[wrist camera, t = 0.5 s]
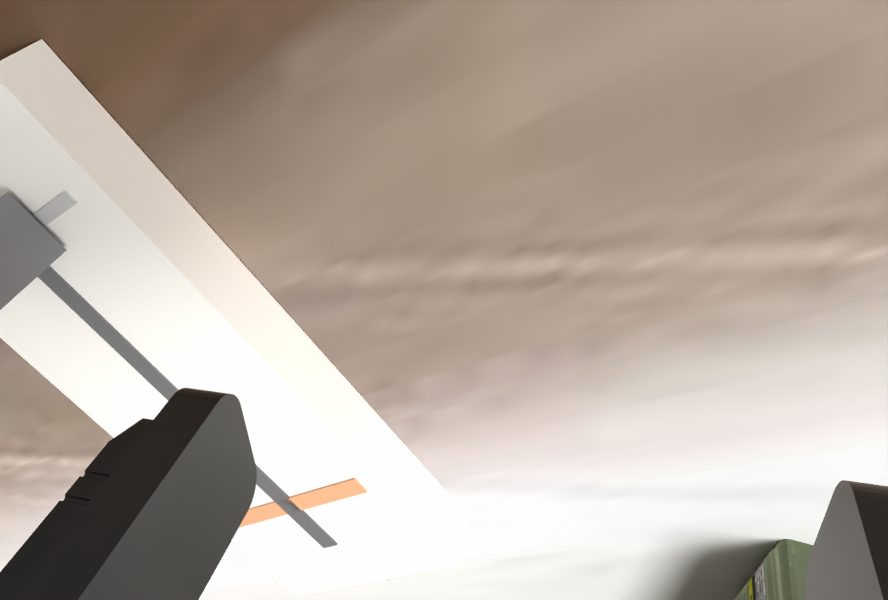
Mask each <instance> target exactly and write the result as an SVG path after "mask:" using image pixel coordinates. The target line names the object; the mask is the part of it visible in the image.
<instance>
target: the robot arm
mask: <svg viewBox="0 0 888 600" xmlns="http://www.w3.org/2000/svg"><path fill="white" fill-rule="evenodd" d="M256 481H257V471H256V464H255V460H254V456H253V452H252V448H251V444H250V440H249V436H248V432H247V428H246V424H245V420H244V416H243V412H242V408H241V404H240V401H239V399H238V398H237V397H236V396H235V395H234V394H229V393H221V392H214V391H207V390H200V389H192V388H182V389H180V390H178V391H177V392H176V393H175V394H174V395H173V396H172V397H171V398H170V399H169V401H168V402H167V403H166V405H165V406H164V407H163V408H162V410H161V411H160V412H159V413H158V415H157V416H156V417H155V418H154V420H152V419H145V418H142V419H141V420H139V421H138V422H137V423H135V424H134V425H132V426H131V427H129V428H128V429H126V430H125V431H124V432H122V433H121V434H119V435H118V436H116V437H115V438H113V439H112V440H111V441H109V442H108V443H107V445H106V446H105V447H104V448H103V449H102V451H101V452H100V453H99V454H98V455H97V457H96V458H95V459H94V460H93V461H92V463H91V464H90V465H89V466H88V467H87V469H86V470H85V475H84V476H83V477H81V476H80V477H79V478H78V479H77V481H76V482H75V483H74V484H73V485H72V487H71V488H70V489H69V490H68V491H67V493H66V494H65V499H64V501H59V502H58V504H57V505H56V506H55V507H54V508H53V510H52V511H51V512H50V513H49V514H48V516H47V517H46V518H45V519H44V520H43V522H42V523H41V524H40V525H39V526H38V528H37V529H36V530H35V531H34V532H33V534H32V535H31V536H30V537H29V538H28V540H27V541H26V542H25V543H24V544H23V546H22V547H21V548H20V549H19V550H18V552H17V553H16V554H15V555H14V556H13V558H12V559H11V560H10V561H9V562H8V564H7V565H6V566H5V567H4V568H3V570H2V571H1V572H0V600H198V599H199V598H200V596H201V594H202V592H203V590H204V589H205V587H206V585H207V583H208V581H209V580H210V578H211V576H212V574H213V573H214V571H215V569H216V567H217V565H218V564H219V562H220V560H221V558H222V557H223V555H224V553H225V551H226V549H227V548H228V546H229V544H230V542H231V540H232V539H233V537H234V535H235V533H236V532H237V530H238V528H239V526H240V524H241V523H242V521H243V519H244V517H245V516H246V514H247V512H248V510H249V508H250V506H251V503H252V500H253V497H254V493H255V488H256ZM805 593H806V600H888V486H880V485H873V484H866V483H859V482H851V481H844V480H843V481H841V482H839V483H838V485H837V486H836V488H835V491H834V493H833V496H832V498H831V501H830V504H829V506H828V509H827V512H826V514H825V517H824V520H823V522H822V525H821V527H820V530H819V533H818V535H817V538H816V541H815V543H814V546H813V549H812V551H811V554H810V557H809V560H808V565H807V571H806V583H805Z"/></svg>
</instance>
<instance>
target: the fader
mask: <svg viewBox="0 0 888 600" xmlns="http://www.w3.org/2000/svg"><path fill="white" fill-rule="evenodd" d="M65 251H67V250H66V249H65V248H64V247H63V246H62V245H61V244H60V243H59V242H58V241H57V240H56V239H55V238H54V237H53V236H52V235H51V234H50V233H49V232H48V231H47V230H46V229H45V228H44V227H43V226H42V225H41V224H40V223H39V222H38V221H37V220H36V219H35V218H34V217H33V216H32V215H31V214H30V213H28V212H27V211H26V210H25V209H24V208H23V207H22V206H21V205H20V204H19V203H18V202H17V201H16V200H15V199H14V198H13V197H12V196H11V195H10V194H9V193H6V194H5V195H3V196H2V197H1V198H0V310H1V309H2V308H3V307H4V306H5V305H7V304H8V303H9V302H10V301H11V300H12V299H13V298H14V297H15V296H17V295H18V294H19V293H20V292H21V291H22V290H23V289H24V288H25V287H27V286H28V285H29V284H30V283H31V282H32V281H33V280H34V279H35V278H37V277H38V276H39V275H40V274H41V273H42V272H43V271H44V270H45V269H47V268H48V267H49V266H50V265H51V264H52V263H53V262H54V261H55V260H57V259H58V258H59V257H60V256H61V255H62V254H63V253H64V252H65Z"/></svg>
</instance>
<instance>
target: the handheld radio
mask: <svg viewBox="0 0 888 600" xmlns="http://www.w3.org/2000/svg"><path fill="white" fill-rule="evenodd" d="M812 549H813V545H809V544H805V543H802V542H798V541H794V540H789V539H785V540H782V541H780V542H778V543H777V544H776V546H775V547H774V548H773V550H771V551H770V552H769V554H768V555H767V556H766V557H765V559H764V560H763V561H762V563H761V564H760V565H759V567H758V568H757V569H756V571H755V572H754V573H753V575H752V576H751V577H750V579H749V580H748V581H747V583H746V584H745V585H744V587H743V588H742V589H741V591H740V592H739V593H738V595H737V596H736V597H735V599H734V600H806V593H805V583H806V571H807V565H808V560H809V557H810V554H811V551H812Z"/></svg>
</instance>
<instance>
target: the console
mask: <svg viewBox="0 0 888 600" xmlns="http://www.w3.org/2000/svg"><path fill="white" fill-rule="evenodd" d="M6 193H9V194H10V195H11V196H12V197H13V198H14V199H15V200H16V201H17V202H18V203H19V204H20V205H21V206H22V207H23V208H24V209H25V210H26V211H27V212H28V213H30V214H31V215H32V216H33V217H34V218H35V219H36V220H37V221H38V222H39V223H40V224H41V225H42V226H43V227H44V228H45V229H46V230H47V231H48V232H49V233H50V234H51V235H52V236H53V237H54V238H55V239H56V240H57V241H58V242H59V243H60V244H61V245H62V246H63V247H64V248H65V249H66V250H67V251H65V252H64V253H63V254H62V255H61V256H60V257H59V258H58V259H57V260H55V261H54V262H53V263H52V264H51V265H50V266H49V267H48V268H47V269H45V270H44V271H43V272H42V273H41V274H40V275H39V276H38V277H37V278H35V279H34V280H33V281H32V282H31V283H30V284H29V285H28V286H27V287H25V288H24V289H23V290H22V291H21V292H20V293H19V294H18V295H17V296H15V297H14V298H13V299H12V300H11V301H10V302H9V303H8V304H7V305H5V306H4V307H3V308H2V309H1V310H0V338H1V339H3V340H4V341H5V342H6V343H7V344H8V345H9V346H10V347H12V348H13V349H14V350H15V351H16V352H17V353H18V354H19V355H21V356H22V357H23V358H24V359H25V360H26V361H27V362H29V363H30V364H31V365H32V366H33V367H34V368H35V369H36V370H38V371H39V372H40V373H41V374H42V375H43V376H44V377H46V378H47V379H48V380H49V381H50V382H51V383H52V384H53V385H55V386H56V387H57V388H58V389H59V390H60V391H61V392H62V393H64V394H65V395H66V396H67V397H68V398H69V399H70V400H72V401H73V402H74V403H75V404H76V405H77V406H78V407H79V408H81V409H82V410H83V411H84V412H85V413H86V414H87V415H89V416H90V417H91V418H92V419H93V420H94V421H95V422H96V423H98V424H99V425H100V426H101V427H102V428H103V429H104V430H105V431H107V432H108V433H109V434H110V435H111V436H112V437H113V438H115V437H116V436H118V435H119V434H121V433H122V432H124V431H125V430H126V429H128V428H129V427H131V426H132V425H134V424H135V423H137V422H138V421H139V420H141V419H142V418H145V419H152V420H154V418H155V417H156V416H157V415H158V413H159V412H160V411H161V410H162V408H163V407H164V406H165V405H166V403H167V402H168V401H169V399H170V398H171V397H172V396H173V395H174V394H175V393H176V392H177V391H178V390H180V389H182V388H192V389H200V390H207V391H214V392H221V393H229V394H234V395H235V396H236V397H237V398H238V399H239V401H240V404H241V408H242V412H243V416H244V420H245V424H246V428H247V432H248V436H249V440H250V444H251V448H252V452H253V456H254V460H255V464H256V471H257V481H256V488H255V493H254V497H253V500H252V503H251V506H250V508H249V510H248V512H247V514H246V516H245V517H244V519H243V521H242V523H241V524H240V526H239V528H238V530H237V532H236V533H235V535H234V537H233V539H232V540H231V542H232V543H233V544H234V545H236V546H237V547H238V548H239V549H240V550H241V551H242V552H244V553H245V554H246V555H247V556H248V557H249V558H250V559H251V560H253V561H254V562H255V563H256V564H257V565H258V566H259V567H260V568H262V569H263V570H264V571H265V572H266V573H267V574H268V575H270V576H271V577H272V578H273V579H274V580H275V581H276V582H277V583H279V584H280V585H281V586H282V587H283V588H284V589H285V590H287V591H288V592H289V593H290V594H291V595H292V596H293V597H299V596H304V595H309V594H314V593H320V592H325V591H330V590H335V589H340V588H345V587H350V586H356V585H361V584H366V583H371V582H376V581H381V580H386V579H392V578H397V577H402V576H407V575H412V574H417V573H422V572H428V571H433V570H438V569H443V568H448V567H453V566H458V563H459V559H460V555H461V551H462V547H463V543H464V539H465V535H466V530H467V526H468V522H469V518H470V517H469V516H468V515H467V514H466V513H465V511H464V510H463V509H462V508H461V507H460V506H459V505H458V504H457V503H456V501H455V500H454V499H453V498H452V497H451V496H450V495H449V494H448V492H447V491H446V490H445V489H444V488H443V487H442V486H441V485H440V484H439V482H438V481H437V480H436V479H435V478H434V477H433V476H432V475H431V473H430V472H429V471H428V470H427V469H426V468H425V467H424V466H423V465H422V463H421V462H420V461H419V460H418V459H417V458H416V457H415V456H414V454H413V453H412V452H411V451H410V450H409V449H408V448H407V447H406V446H405V444H404V443H403V442H402V441H401V440H400V439H399V438H398V437H397V435H396V434H395V433H394V432H393V431H392V430H391V429H390V428H389V427H388V425H387V424H386V423H385V422H384V421H383V420H382V419H381V418H380V416H379V415H378V414H377V413H376V412H375V411H374V410H373V409H372V408H371V406H370V405H369V404H368V403H367V402H366V401H365V400H364V399H363V397H362V396H361V395H360V394H359V393H358V392H357V391H356V390H355V389H354V387H353V386H352V385H351V384H350V383H349V382H348V381H347V380H346V378H345V377H344V376H343V375H342V374H341V373H340V372H339V371H338V370H337V368H336V367H335V366H334V365H333V364H332V363H331V362H330V361H329V359H328V358H327V357H326V356H325V355H324V354H323V353H322V352H321V351H320V349H319V348H318V347H317V346H316V345H315V344H314V343H313V342H312V340H311V339H310V338H309V337H308V336H307V335H306V334H305V333H304V332H303V330H302V329H301V328H300V327H299V326H298V325H297V324H296V323H295V321H294V320H293V319H292V318H291V317H290V316H289V315H288V314H287V313H286V311H285V310H284V309H283V308H282V307H281V306H280V305H279V304H278V302H277V301H276V300H275V299H274V298H273V297H272V296H271V295H270V294H269V292H268V291H267V290H266V289H265V288H264V287H263V286H262V285H261V283H260V282H259V281H258V280H257V279H256V278H255V277H254V276H253V275H252V273H251V272H250V271H249V270H248V269H247V268H246V267H245V266H244V264H243V263H242V262H241V261H240V260H239V259H238V258H237V257H236V256H235V254H234V253H233V252H232V251H231V250H230V249H229V248H228V247H227V245H226V244H225V243H224V242H223V241H222V240H221V239H220V238H219V237H218V235H217V234H216V233H215V232H214V231H213V230H212V229H211V228H210V226H209V225H208V224H207V223H206V222H205V221H204V220H203V219H202V218H201V216H200V215H199V214H198V213H197V212H196V211H195V210H194V209H193V207H192V206H191V205H190V204H189V203H188V202H187V201H186V200H185V199H184V197H183V196H182V195H181V194H180V193H179V192H178V191H177V190H176V188H175V187H174V186H173V185H172V184H171V183H170V182H169V181H168V180H167V178H166V177H165V176H164V175H163V174H162V173H161V172H160V171H159V169H158V168H157V167H156V166H155V165H154V164H153V163H152V162H151V161H150V159H149V158H148V157H147V156H146V155H145V154H144V153H143V152H142V150H141V149H140V148H139V147H138V146H137V145H136V144H135V143H134V142H133V140H132V139H131V138H130V137H129V136H128V135H127V134H126V133H125V131H124V130H123V129H122V128H121V127H120V126H119V125H118V124H117V123H116V121H115V120H114V119H113V118H112V117H111V116H110V115H109V114H108V112H107V111H106V110H105V109H104V108H103V107H102V106H101V105H100V104H99V102H98V101H97V100H96V99H95V98H94V97H93V96H92V95H91V93H90V92H89V91H88V90H87V89H86V88H85V87H84V86H83V85H82V83H81V82H80V81H79V80H78V79H77V78H76V77H75V76H74V74H73V73H72V72H71V71H70V70H69V69H68V68H67V67H66V65H65V64H64V63H63V62H62V61H61V60H60V59H59V58H58V57H57V55H56V54H55V53H54V52H53V51H52V50H51V49H50V48H49V46H48V45H47V44H46V43H45V42H44V41H43V40H42V39H41V40H39V41H37V42H35V43H33V44H31V45H29V46H27V47H26V48H24V49H22V50H20V51H18V52H16V53H14V54H12V55H10V56H8V57H6V58H5V59H3V60H1V61H0V198H1V197H2V196H3V195H5V194H6Z"/></svg>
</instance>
